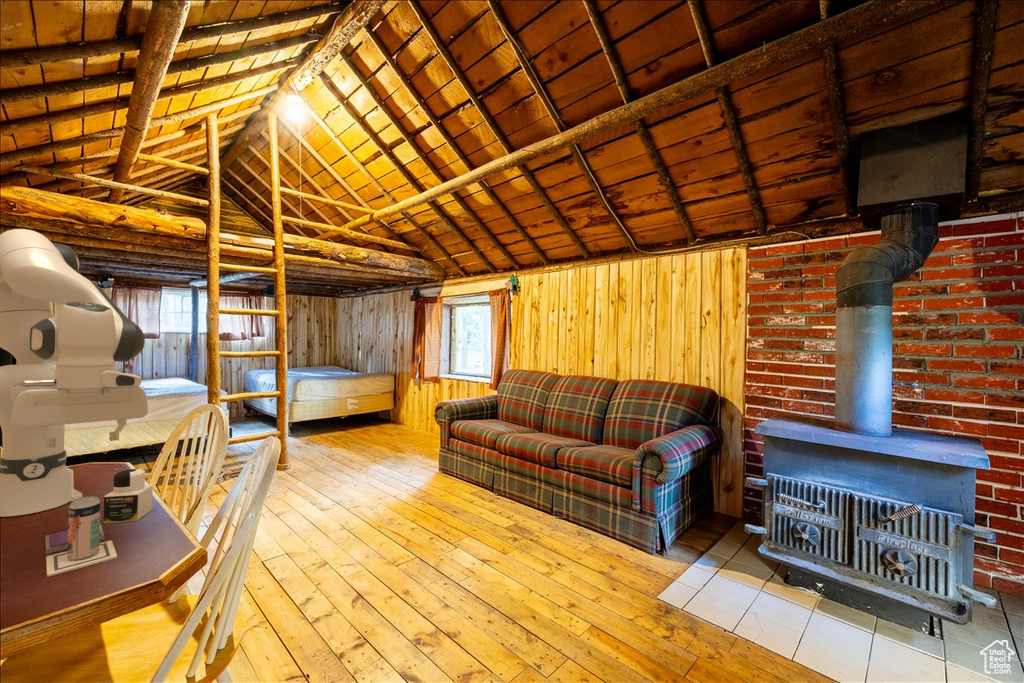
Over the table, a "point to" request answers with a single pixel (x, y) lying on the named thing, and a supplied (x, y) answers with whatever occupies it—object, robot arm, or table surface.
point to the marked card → (63, 564)
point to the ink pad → (62, 541)
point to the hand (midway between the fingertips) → (83, 443)
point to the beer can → (83, 528)
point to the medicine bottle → (128, 497)
